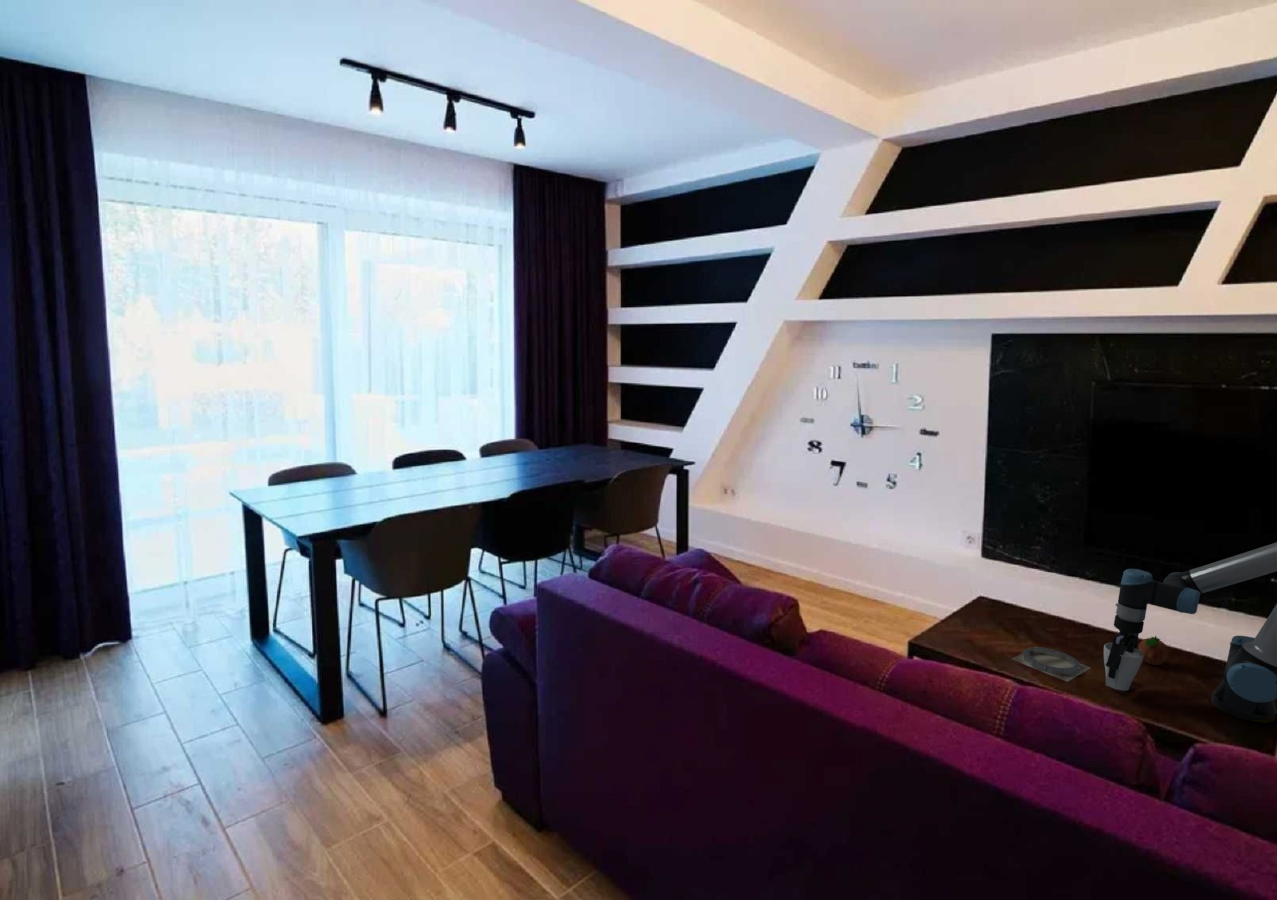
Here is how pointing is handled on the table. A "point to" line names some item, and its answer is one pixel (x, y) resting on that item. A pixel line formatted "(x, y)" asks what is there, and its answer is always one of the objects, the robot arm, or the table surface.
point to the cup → (1125, 666)
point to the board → (1052, 664)
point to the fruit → (1153, 651)
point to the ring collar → (1050, 669)
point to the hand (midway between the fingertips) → (1118, 681)
